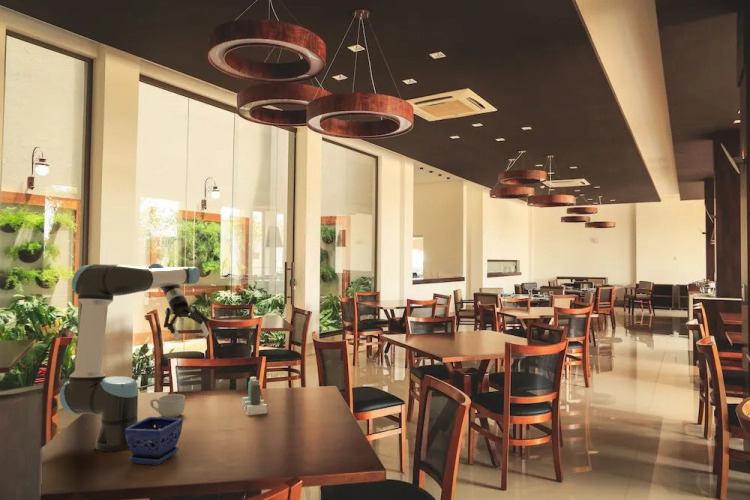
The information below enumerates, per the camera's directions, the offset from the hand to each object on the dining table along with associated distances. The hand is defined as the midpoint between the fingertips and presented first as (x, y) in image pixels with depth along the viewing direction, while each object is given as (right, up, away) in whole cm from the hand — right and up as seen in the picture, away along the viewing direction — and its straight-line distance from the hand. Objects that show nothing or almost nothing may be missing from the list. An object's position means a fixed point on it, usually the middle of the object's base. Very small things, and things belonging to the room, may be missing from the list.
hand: (192, 336), depth 227 cm
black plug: (+28, -31, -4) cm, 42 cm away
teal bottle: (+25, -32, +3) cm, 41 cm away
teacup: (-8, -33, -6) cm, 34 cm away
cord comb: (+27, -33, 0) cm, 42 cm away
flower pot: (+7, -31, -55) cm, 64 cm away
